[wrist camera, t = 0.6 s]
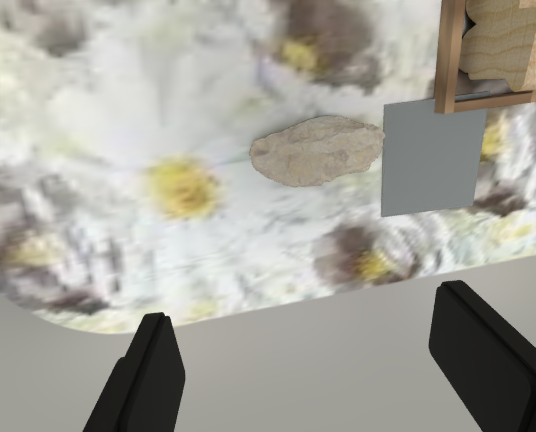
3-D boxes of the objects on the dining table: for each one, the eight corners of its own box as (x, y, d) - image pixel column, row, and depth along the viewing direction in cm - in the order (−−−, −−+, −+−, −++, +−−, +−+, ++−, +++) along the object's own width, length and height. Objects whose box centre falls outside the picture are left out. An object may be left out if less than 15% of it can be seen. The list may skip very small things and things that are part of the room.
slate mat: (384, 105, 35) (385, 105, 35) (487, 91, 35) (490, 91, 35) (381, 216, 41) (382, 217, 40) (470, 204, 41) (472, 205, 40)
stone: (330, 171, 42) (392, 183, 34) (250, 194, 36) (301, 216, 28) (327, 112, 39) (394, 110, 31) (240, 127, 33) (294, 130, 25)
